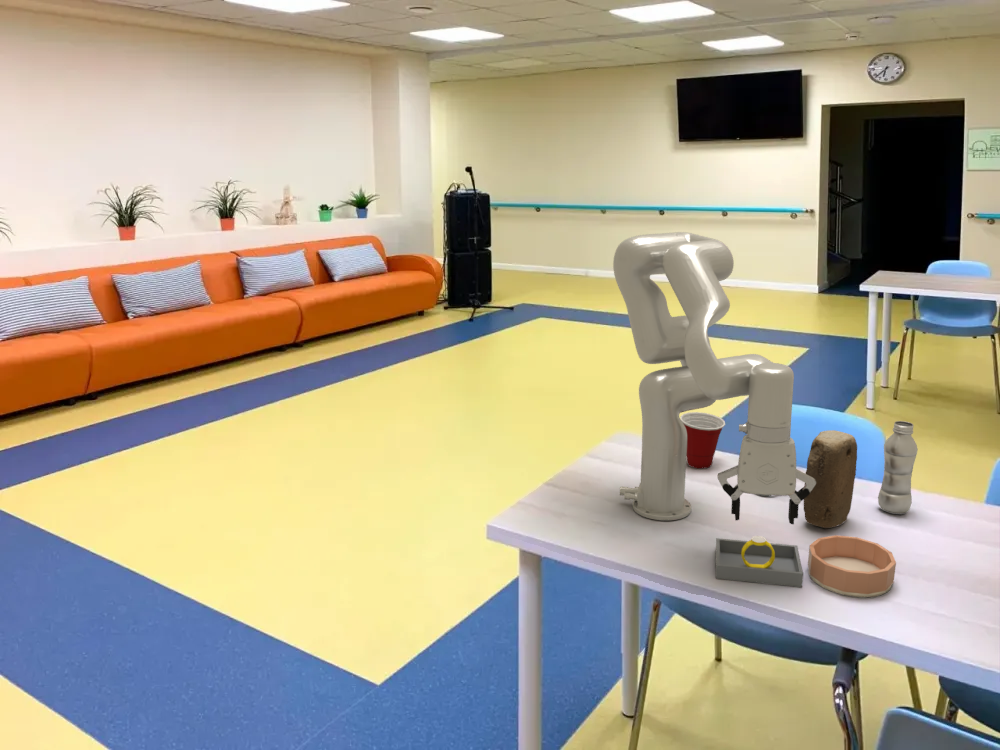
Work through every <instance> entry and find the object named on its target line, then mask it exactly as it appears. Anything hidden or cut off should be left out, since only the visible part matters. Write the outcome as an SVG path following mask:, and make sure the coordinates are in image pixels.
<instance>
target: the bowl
mask: <svg viewBox="0 0 1000 750" xmlns="http://www.w3.org/2000/svg"><path fill="white" fill-rule="evenodd" d="M896 565H897V562H896V559H895V557H894V555H893V552H892V551H890V550H889V549H888V548H887V549H886V548H885V547H884V546H882V545H881V544H879V543H877V542H874V541H871V540H867V539H865V538H861V537H858V536H847V535H836V534H835V535H829V536H824V537H818V538H817V539H816V540H814V541H813V542H812V543H810V544H809V548H808V559H807V567H808V569H807V571H808V575H809V577H810V579H811V580H812V581H813V582H814V583H815V584H817V585H818V586H819V587H822V588H823V589H825V590H827V591H830V592H832V593H835V594H838V595H842V596H846V597H852V598H853V597H854V598H873V597H874V598H875V597H879V596H882V595H884V594H887V593H888V592H889V591H890V590H891V588H892V585H893V584H894V583H895V573H896Z"/></svg>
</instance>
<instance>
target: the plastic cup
mask: <svg viewBox="0 0 1000 750" xmlns="http://www.w3.org/2000/svg"><path fill="white" fill-rule="evenodd" d="M679 417H680V419H681V421H682V423H683V424H684V426H685V428H686V431H687V456H686V463H687V465H688V466H689V467H690V468H695V469H709V468H710V467H711V466H712V464H713V460H714V456H715V454H716V450H717V446H718V442H719V438H720V434H721V433H722V430H723V429H724V427H725V426H726V422H725V420H724V419H723V418H721V417H719V416H717V415H715V414H711V413H707V412H699V411H692V412H686V413H682V414H681V416H679Z"/></svg>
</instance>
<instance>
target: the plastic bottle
mask: <svg viewBox="0 0 1000 750" xmlns="http://www.w3.org/2000/svg"><path fill="white" fill-rule="evenodd" d="M893 423H894V424H893V427H892V432H893V433H892V434H891V435H890V436H889V437H887V439H886V440H885V442H884V444H883V454H884V455H883V456H884V457H883V458H884V463H883V464H884V466H883V468H884V469H883V477H882V482H881V486H880V489H879V493H878V495H877V500H878V501H877V502H878V506H879V507H880V509H881V510H883V511H885V512H887V513H890V514H895V515H903V514H904V515H905V514H906V513H907V512H909V511H910V509H911V507H912V503H913V502H912V501H913V500H912V499H913V498H912V477H913V476H912V475H913V474H912V473H913V471H914V470H913V469H914V465H915V462H916V458H917V455H918V449H919V448H918V446H917V442H916V440H915V439H914V437H913V436H912V435H913V434H914V424H913V423H912V422H909V421H904V420H897V421H894V422H893Z"/></svg>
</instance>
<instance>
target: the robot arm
mask: <svg viewBox="0 0 1000 750" xmlns="http://www.w3.org/2000/svg"><path fill="white" fill-rule="evenodd" d="M612 265H613V266H612V267H613V268H612V269H613V275H614V279H615V282H616V285H617V287H618V289H619V292H620V295H621V296H622V299H623V301H624V303H625V308H626V311H627V315H628V320H629V323H630V329H631V333H632V337H633V341H634V345H635V351H636V352H637V355H638V358H639V359H640V361H642V362H643V363H644V364H646V365H647V364H648V365H659V364H666V363H673V362H679V361H680V366H676V367H670V368H669V367H668V368H663V369H658V370H655V371H652V372H649V373H648V374H646V375H645V376H644V377H643V378H642V379H641V381H640V382H639V385H638V397H639V398H638V400H639V404H640V409H641V423H642V426H641V427H642V428H641V429H642V430H641V432H642V433H641V458H640V459H641V460H640V462H641V463H640V464H641V465H640V482H639V485H638V486H634V487H629V486H628V487H627V486H620V487H619V496H623V500H632V509H633V510H634V512H635V513H636V514H637V515H639V516H641V517H643V518H646V519H650V520H655V521H676V520H681V519H684V518H685V517H688V516H689V515H690V514H691V512H692V511H691V510H692V506H691V505H692V504H691V503H690V502H689V500H688V499H686V498H685V495H686V493H685V491H686V489H685V488H686V473H687V472H686V471H687V470H686V469H687V431H686V428H685V426H684V424H683V423H682V421H681V418H680V417H681V416H680V414H681V413H685V412H688V411H694V410H698V409H704V408H707V407H710V406H713V404H714V403H715V402H716V401H721V400H722V401H723V400H726V399H728V400H729V399H733V398H737V397H746V396H748V404H747V405H748V406H747V421H746V422H745V423H742V424H740V423H739V424H738V432H742V433H745V435H744V436H743V437H742V441H741V445H740V451H739V456H738V464H737V465H735V466H733V467H731V468H727V469H726V470H723V471H721V472H719V473H717V480H718V482H719V484H720V486H721V487H722V490H723V491H724V492H725V493H726V494H727V495H728V496H729V497H730V499H731V508H730V509H731V515H734V518H735V521H740V515H741V496H742V495H743V494H750V495H758V494H762V495H772V496H780V497H781V496H784V497H786V496H788V498H790V499H789V500H788V501H789V503H788V513H787V514H788V523H789V524H790V525H794V524H795V519H798V518H799V504H801V502H802V501H804V498H806V497H807V496H808V495H809V494H810V492H811V491H812V489H813V488H814V486H815V485H816V480H815V479H814V478H813V477H811V476H809V475H807V474H805V473H806V472H804V471H801V470H799V469H798V468H797V451H796V444H795V440H794V439H793V438H792V437H791V432H792V431H791V430H792V413H793V412H792V410H793V398H794V397H793V396H794V380H795V379H794V377H795V373H794V371H793V369H792V368H791V367H790V366H788V365H786V364H784V363H783V364H782V363H779V362H778V363H777V362H773V361H771V360H769V359H768V358H766V357H765V356H763V355H761V354H757V353H749V354H742V355H734V356H727V357H721V358H720V357H719V358H717V356H716V354H715V353H714V350H713V349H712V346H711V341H710V338H709V335H708V331H709V328H710V327H712V326H713V325H714V324H717V323H718V322H719V321H721V319H723V318H724V316H726V315H727V313H728V312H729V310H730V306H731V302H730V300H729V297H728V296H727V293H726V292H725V291H724V289H723V286H722V285H721V282H722V281H724V280H727V279H728V278H729V277H730V276H731V275H732V273H733V271H734V266H735V265H734V257H733V254H732V252H731V249H730V248H729V247H728V246H727V244H726V243H724V242H723V241H720V240H718V239H716V238H712V237H708V236H704V235H699V234H695V233H692V232H686V231H677V232H676V231H675V232H664V233H647V234H639V235H635V236H631V237H628V238H626V239H624V240H623V241H621V242H620V243H619V244H618V245H617V247H616V250H615V252H614V255H613V263H612ZM663 274H664V275H665V276H666V279H667V280H668V282H669V284H670V286H671V288H672V291H673V293H674V294H675V297H676V298H677V300H678V302H679V304H680V306H681V308H682V311H683V313H684V314H685V315H678V316H672V315H671V313H670V309H669V306H668V302H667V298H666V296H665V293H664V292H663V291H662V289H661V288H660V287H659V285H658V284H657V283H656V282H655V281H653V280H652V278H651V276H653V275H663ZM736 476H737V477H736ZM733 477H736V478H737V479H736V480H737V483H736V484H735V485H734V486H732V485H731V484H730V483H729V482H728V479H730V478H733ZM797 480H799V481H800V482H803V483H804V485H803V487H802V488H800V489H799V490H798V491H797V490H796V487H797V486H796V485H797ZM805 483H806V484H805Z"/></svg>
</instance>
